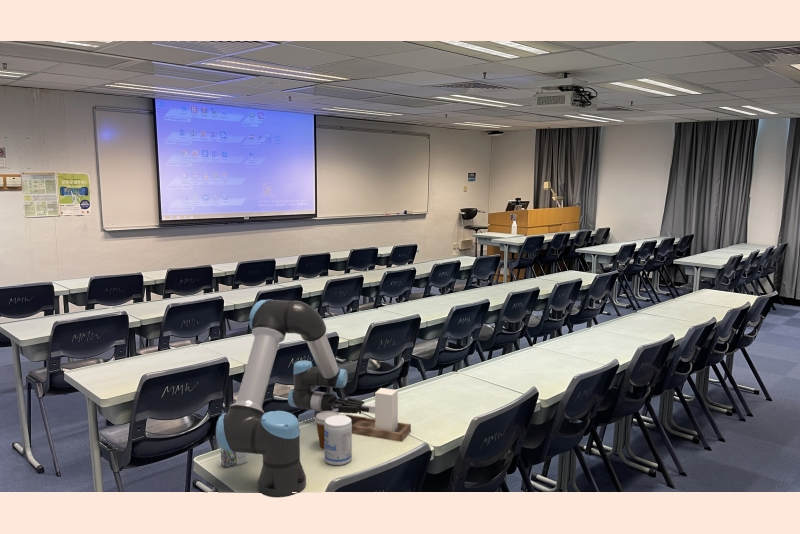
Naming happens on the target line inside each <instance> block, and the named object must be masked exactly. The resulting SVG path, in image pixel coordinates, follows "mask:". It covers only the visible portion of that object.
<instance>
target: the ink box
mask: <svg viewBox="0 0 800 534" xmlns="http://www.w3.org/2000/svg"><path fill="white" fill-rule="evenodd" d="M220 461H221V462H220V463H221V466H222V467H223V468H224V469H226V468H227V469H228V468H230V467H235V466H238V465H242V464H246V463H247V462H248V461H247V453H242V452H232V451H226V450H223V449H221V448H220Z"/></svg>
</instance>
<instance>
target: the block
mask: <svg viewBox="0 0 800 534" xmlns="http://www.w3.org/2000/svg"><path fill="white" fill-rule="evenodd" d="M398 392H399V391H398V389H393V388H392V389H391V388H385V387H383V388H382V387H380V388H378V390H377V391H375V392H374V405H375V414H374V419H375V429H380V430H386V431H392V432H393V431H394V430H395V429H396V428H397V427H398V422H399V417H398V416H399V413H398V412H399V408H398V406H399V405H398V404H399V403H398V402H399V401H398V399H399V396H398V394H399V393H398Z"/></svg>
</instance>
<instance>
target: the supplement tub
mask: <svg viewBox="0 0 800 534" xmlns="http://www.w3.org/2000/svg"><path fill="white" fill-rule="evenodd" d="M352 436H353V434H352V423H351V418H349V417H347V416H345V415H341V414H340V415H336V416H331V417H328V418H327V419H326V420H325V426H324V449H323V450H324V454H323V455H324V461H325V462H326V463H327V464H329V465H331V466H334V465H335V466H343V465H346V464H348V463H349V462H351V460H352V457H353V456H352V449H353V447H352V445H353V444H352V443H353V437H352Z"/></svg>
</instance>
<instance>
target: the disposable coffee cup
mask: <svg viewBox="0 0 800 534" xmlns="http://www.w3.org/2000/svg"><path fill="white" fill-rule="evenodd" d="M336 415H341V413H338V412H335V411H324V412H323V411H319V412H318V413H317V414H316V415H315V418H314V421H315V423H316V430H317V435H318V442H319V443H318V444H319V447H320V449H322V450H324V426H325V420H326V419H327V418H328V417H331V416H336Z"/></svg>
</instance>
